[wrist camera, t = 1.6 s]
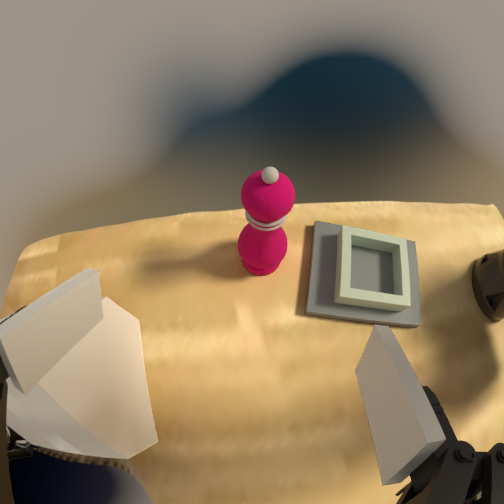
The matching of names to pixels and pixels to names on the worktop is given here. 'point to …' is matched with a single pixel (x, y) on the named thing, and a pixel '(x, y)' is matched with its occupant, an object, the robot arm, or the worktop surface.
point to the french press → (18, 445)
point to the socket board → (363, 276)
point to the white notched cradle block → (91, 395)
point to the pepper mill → (265, 220)
